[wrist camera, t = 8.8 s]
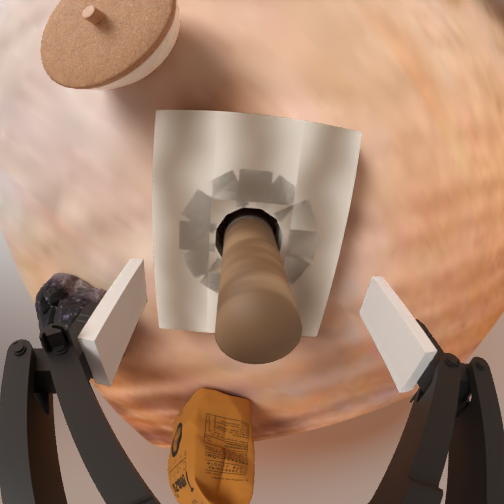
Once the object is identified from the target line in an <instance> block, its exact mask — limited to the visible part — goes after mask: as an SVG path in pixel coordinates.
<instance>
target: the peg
mask: <svg viewBox="0 0 504 504" xmlns="http://www.w3.org/2000/svg"><path fill="white" fill-rule="evenodd" d="M301 335H302V323H301V320H300V316H299V313H298V310H297V307H296V304H295V300H294V297H293V294H292V291H291V288H290V284H289V281H288V278H287V275H286V272H285V269H284V266H283V263H282V260H281V256H280V253H279V250H278V247H277V244H276V241H275V238H274V233H273V230H272V228H271V226H270V223H269V221H268V219H267V217H266V216H265V215H264V214H263V213H262V212H260V211H259V210H256V209H253V208H244V209H240V210H238V211H236V212H234V213H233V214H232V215H231V216H230V217H229V219H228V221H227V223H226V229H225V234H224V246H223V255H222V264H221V274H220V283H219V293H218V303H217V314H216V324H215V339H216V342H217V344H218V346H219V348H220V349H221V350H222V351H223V352H224V353H225V354H226V355H227V356H229V357H230V358H232V359H234V360H237V361H239V362H243V363H248V364H264V363H270V362H273V361H276V360H278V359H281V358H283V357H284V356H286V355H287V354H289V353H290V352H291V351H292V350H293V349H294V348H295V347H296V346H297V344H298V343H299V341H300V338H301Z"/></svg>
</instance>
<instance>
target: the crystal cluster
mask: <svg viewBox="0 0 504 504" xmlns="http://www.w3.org/2000/svg"><path fill="white" fill-rule="evenodd" d="M105 294H106V292H105V291H103V290H102V289H98V288H95V287H93V286H91V285H89V284H88V283H86V282H85V281H82V280H80V279H78V278H77V277H75V276H73V275H70V274H65V273H57V274H54V275H53V276H52V277H51V278H50V279H49V280H48V281H47V282H46V283H45V284H44V285H43V286H42V287H41V289H40V291H39V292H38V294H37V296H36V303H35V307H36V312H37V317H38V320H39V329H40V332H41V331H42V329H43V328H45V327H46V326H48V325H50V324H53V323H60V324H63V325H65V326H66V327H67V329H68V330H69V328H70V327H71V325H72V324H73V322H74V321H76V318H77V317H78V315H80V312H81V311H82V309H83V308H84V307H85V306H86V305H88V304H89V303H90V302H92V301H93V302H99V303H100V301H101V300H102V298H103V297H104V295H105ZM42 347H43V345H42ZM43 349H44V347H43ZM124 355H125V352H124ZM124 355H123V357H124ZM123 357H122V358H123ZM91 378H93V376H91ZM93 379H94V378H93Z"/></svg>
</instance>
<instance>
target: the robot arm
mask: <svg viewBox="0 0 504 504" xmlns="http://www.w3.org/2000/svg"><path fill="white" fill-rule="evenodd" d="M146 303H147V292H146V283H145V272H144V260H143V259H133V258H131V259H130V260H129V262H128V263H127V264H126V266H125V267H124V268H123V270H122V271H121V273H120V274H119V275H118V277H117V278H116V280H115V281H114V282H113V284H112V285H111V287H110V288H109V290H108V291H107V293H106V294H105V295H104V297H103V298H102V300H101V301H100V303H99V302H93V301H92V302H90V303H89V304H88V305H86V306H85V307H84V308H83V309H82V311H81V312H80V315H78V317H77V318H76V321H74V322H73V324H72V325H71V327H70V328H69V330H68V329H67V327H66V326H65V325H63V324H60V323H53V324H50V325H48V326H46V327H45V328H43V329H42V331H41V332H40V336H39V338H40V341H41V343H42V345H43V347H44V349H33V348H32V345H31V344H30V342H29V341H27V340H22V339H21V340H17V341H15V342H13V343H12V344H11V345H10V346H9V348H8V351H7V356H6V361H5V366H4V373H3V379H2V386H1V395H0V488H1V496H2V502H3V504H67V500H66V496H65V492H64V487H63V482H62V477H61V472H60V466H59V460H58V453H57V446H56V437H55V426H54V412H53V393H57V396H58V399H59V402H60V405H61V408H62V411H63V413H64V416H65V419H66V422H67V425H68V427H69V430H70V432H71V435H72V437H73V440H74V442H75V444H76V447H77V449H78V451H79V453H80V455H81V458H82V460H83V462H84V464H85V466H86V468H87V470H88V472H89V474H90V476H91V478H92V480H93V482H94V483H95V485H96V487H97V489H98V491H99V492H100V494H101V496H102V497H103V499H104V501H105V502H106V504H160V502H159V501H158V500H157V498H156V497H155V496H154V494H153V493H152V492H151V490H150V489H149V488H148V486H147V485H146V483H145V482H144V480H143V479H142V478H141V476H140V475H139V473H138V472H137V470H136V469H135V467H134V466H133V464H132V462H131V461H130V459H129V458H128V456H127V454H126V453H125V451H124V449H123V448H122V446H121V445H120V443H119V441H118V439H117V438H116V436H115V434H114V432H113V430H112V429H111V426H110V425H109V423H108V421H107V419H106V417H105V415H104V413H103V411H102V409H101V407H100V405H99V403H98V400H97V399H96V396H95V394H94V392H93V389H92V387H91V385H90V383H89V380H90V378H91V376H93V378H94V380H95V383H98V384H102V385H107V386H111V385H112V382H113V380H114V377H115V375H116V372H117V370H118V367H119V365H120V362H121V360H122V357H123V355H124V352H125V350H126V348H127V345H128V343H129V341H130V338H131V336H132V334H133V331H134V329H135V327H136V325H137V322H138V320H139V318H140V316H141V314H142V311H143V309H144V307H145V305H146ZM359 314H360V316H361V318H362V320H363V322H364V324H365V326H366V327H367V329H368V331H369V333H370V335H371V337H372V339H373V341H374V343H375V344H376V346H377V348H378V350H379V352H380V354H381V356H382V358H383V360H384V362H385V364H386V366H387V368H388V370H389V372H390V374H391V376H392V378H393V380H394V382H395V385H396V387H397V389H398V391H399V393H402V392H408V391H412V389H413V388H414V386H415V385H416V383H418V385H419V387H420V388H419V389H418V391H417V392H416V393H415V395H414V396H413V398H412V399H411V401H410V402H412V401H413V400H414V402H413V405H412V408H411V412H410V414H409V417H408V420H407V423H406V426H405V428H404V431H403V433H402V436H401V439H400V441H399V444H398V446H397V448H396V451H395V453H394V455H393V458H392V460H391V462H390V464H389V466H388V469H387V471H386V473H385V475H384V477H383V479H382V481H381V483H380V485H379V487H378V489H377V490H376V492H375V494H374V496H373V498H372V499H371V501H370V502H369V503H368V504H440V503H441V500H442V496H443V490H442V489H440V488H439V487H438V486H439V482H440V479H441V476H442V472H443V469H444V465H445V461H446V458H447V454H448V450H449V460H448V462H449V463H448V479H447V491H446V500H445V504H504V430H503V423H502V418H501V412H500V407H499V403H498V398H497V394H496V390H495V386H494V382H493V378H492V374H491V371H490V367H489V365H488V363H487V362H486V361H485V360H484V359H483V358H480V357H474V358H473V359H472V360H471V362H470V363H469V364H464V363H461V362H460V361H459V359H458V358H457V357H456V356H454V355H453V354H450V353H444V352H443V350H442V349H441V348H440V346H439V345H438V343H437V342H436V340H435V339H434V338H433V337H432V335H431V333H430V332H429V331H428V329H427V328H426V327H425V325H424V324H423V323H421V322H420V321H419V320H418V319H415V318H414V317H413V316H412V314H411V313H410V312H409V310H408V309H407V308H406V306H405V305H404V304H403V302H402V301H401V300H400V299H399V297H398V296H397V295H396V293H395V292H394V291H393V290H392V288H391V287H390V286H389V284H388V283H387V282H386V281H385V279H384V278H383V277H376V276H372V278H371V281H370V284H369V287H368V290H367V293H366V296H365V298H364V301H363V304H362V307H361V310H360V312H359ZM471 395H472V398H471V401H469V397H470V396H471Z"/></svg>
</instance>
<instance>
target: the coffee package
mask: <svg viewBox="0 0 504 504" xmlns="http://www.w3.org/2000/svg"><path fill="white" fill-rule="evenodd" d="M168 477H169V483H170V487H171V489H172V492H173V493H174V496H175V497H176V499H177V501H178V502H179V504H249V503H250V500H251V498H252V494H253V485H254V444H253V431H252V423H251V407H250V401H249V400H248V399H246V398H240V397H236V396H230V395H227V394H224V393H222V392H220V391H217V390H214V389H205V388H200V389H198V390H197V391H196V392H195V393H194V394H193V396H192V397H191V398H190V400H189V401H188V402H187V403H186V404H185V406H184V407H183V408H182V410H181V411H180V413H179V414H178V416H177V417H176V419H175V421H174V428H173V437H172V444H171V451H170V456H169V462H168Z"/></svg>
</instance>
